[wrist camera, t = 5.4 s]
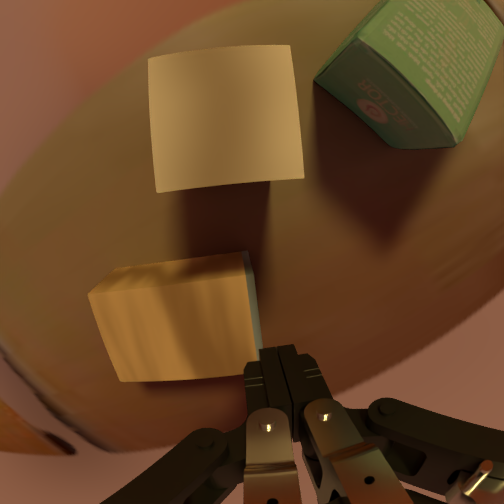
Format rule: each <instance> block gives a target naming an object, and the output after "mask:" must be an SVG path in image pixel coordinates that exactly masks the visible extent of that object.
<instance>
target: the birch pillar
mask: <svg viewBox="0 0 504 504" xmlns="http://www.w3.org/2000/svg"><path fill="white" fill-rule="evenodd" d="M148 80H149V108H150V126H151V140H152V152H153V163H154V173H155V183H156V191H157V193H162V192H169V191H176V190H184V189H192V188H200V187H208V186H217V185H226V184H236V183H247V182H258V181H270V180H284V179H300V178H304V167H303V155H302V143H301V133H300V123H299V113H298V104H297V95H296V87H295V79H294V71H293V64H292V57H291V50H290V45H251V46H233V47H220V48H210V49H201V50H194V51H187V52H180V53H174V54H168V55H163V56H158V57H153V58H148Z"/></svg>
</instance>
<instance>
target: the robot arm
mask: <svg viewBox="0 0 504 504" xmlns="http://www.w3.org/2000/svg"><path fill="white" fill-rule="evenodd" d="M258 351H259V361H251V362H247V364H246V366H245V368H244V370H243V371H244V381H245V391H246V401H247V410H248V416H247V419H246V421H245V422H244V423H243V424H242V425H241V426H240V427H238V428H236V429H234V430H232V431H229V432H226V433H222V432H221V431H219V430H216V429H213V428H201V429H198V430H195V431H193V432H192V433H190V434H189V435H188V436H187V437H186V438H184V439H183V440H182V441H181V442H180V443H178V444H177V445H176V446H175V447H174V448H173V449H171V450H170V451H169V452H168V453H167V454H165V455H164V456H163V457H162V458H160V459H159V460H158V461H157V462H155V463H154V464H153V465H152V466H150V467H149V468H148V469H147V470H145V471H144V472H143V473H141V474H140V475H139V476H137V477H136V478H135V479H134V480H132V481H131V482H129V483H128V484H127V485H125V486H124V487H123V488H121V489H120V490H119V491H117V492H116V493H114V494H113V495H111V496H110V497H109V498H107V499H106V500H104V501H103V502H101V503H100V504H220V503H221V502H222V501H223V500H224V499H225V498H226V497H227V496H228V495H229V494H230V493H231V492H232V491H233V490H234V489H235V487H236V486H237V484H239V483H242V482H244V504H302V500H301V493H300V486H299V479H298V472H297V467H296V464H295V462H294V456H293V449H292V438H293V442H299V441H300V442H301V445H302V457H303V460H304V463H305V466H306V468H307V471H308V473H309V476H310V479H311V481H312V484H313V486H314V489H315V491H316V495H317V501H318V504H504V431H501V430H497V429H492V428H488V427H484V426H481V425H477V424H473V423H469V422H466V421H462V420H459V419H455V418H452V417H448V416H445V415H441V414H438V413H435V412H432V411H429V410H426V409H423V408H420V407H417V406H414V405H411V404H408V403H405V402H402V401H399V400H397V399H393V398H380V399H378V400H376V401H374V402H372V403H371V405H370V406H369V408H368V409H349V408H345V407H343V406H342V405H341V404H340V403H339V402H338V401H336V400H334V399H333V397H332V395H331V393H330V391H329V389H328V387H327V384H326V382H325V380H324V378H323V376H322V373H321V371H320V369H319V367H318V365H317V363H316V361H315V359H314V358H312V357H311V356H310V355H308V354H301V355H298V354H297V351H296V349H295V346H294V344H291V345H284V346H277V347H270V348H263V349H258ZM399 480H400V481H403V482H406V483H408V484H411V485H413V486H416V487H419V488H422V489H425V490H428V491H431V492H434V493H437V494H440V495H444V496H445V497H446V501H447V503H445V502H442V501H439V500H437V499H434V498H431V497H428V496H426V495H423V494H420V493H418V492H415V491H412V490H408V489H404V487H403V486H402V484H401V483H400V481H399Z"/></svg>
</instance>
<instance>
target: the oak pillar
mask: <svg viewBox="0 0 504 504" xmlns="http://www.w3.org/2000/svg"><path fill="white" fill-rule="evenodd" d="M88 298H89V301H90V304H91V307H92V310H93V313H94V316H95V319H96V322H97V325H98V328H99V330H100V333H101V336H102V339H103V341H104V344H105V346H106V349H107V351H108V354H109V356H110V359H111V361H112V364H113V366H114V368H115V371H116V373H117V375H118V377H119V380H120V382H141V381H171V380H188V379H201V378H212V377H222V376H232V375H240V374H244V371H243V370H244V368H245V366H246V364H247V362H251V361H259V351H258V349H263V345H262V337H261V329H260V321H259V312H258V304H257V296H256V288H255V280H254V273H253V269H252V265H251V261H250V257H249V254H248V251H240V252H233V253H225V254H218V255H211V256H203V257H196V258H189V259H181V260H174V261H167V262H159V263H152V264H145V265H137V266H130V267H123V268H116V269H114V270H113V271H112V272H111V273H110V274H108V275H107V276H106V277H105V278H104V279H103V280H102V281H101V282H100V283H99V284H98V285H97V286H96V287H94V288H93V289H92V290H91V291H90V292H89V293H88Z"/></svg>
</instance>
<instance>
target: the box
mask: <svg viewBox="0 0 504 504" xmlns="http://www.w3.org/2000/svg"><path fill="white" fill-rule="evenodd" d="M503 39H504V26H503V25H502V23H501V22H500V21H499V19H498V18H497V17H496V15H495V14H494V13H493V12H492V10H491V9H490V8H489V7H488V5H487V4H486V3H485V2H484V1H483V0H381V1H380V2H379V3H378V4H377V5H376V6H375V7H374V8H373V9H372V10H371V11H370V12H369V13H368V15H367V16H366V17H365V18H364V19H363V20H362V21H361V22H360V23H359V24H358V25H357V27H356V28H355V29H354V30H353V31H352V32H351V33H350V34H349V36H348V37H347V38H346V39H345V40H344V41H343V43H342V44H341V45H340V46H339V47H338V48H337V50H336V51H335V52H334V53H333V54H332V56H331V57H330V58H329V59H328V60H327V62H326V63H325V64H324V65H323V66H322V68H321V69H320V70H319V71H318V73H317V74H316V76H315V78H314V81H315V82H316V83H318V84H319V85H320V86H322V87H323V88H324V89H326V90H327V91H328V92H329V93H331V94H332V95H333V96H334V97H336V98H337V99H338V100H339V101H341V102H342V103H343V104H344V105H345V106H347V107H348V108H349V109H350V110H351V111H353V112H354V113H355V114H356V115H357V116H358V117H360V118H361V119H362V120H363V121H364V122H365V123H366V124H367V125H368V126H369V127H371V128H372V129H373V130H374V131H375V132H376V133H377V134H378V135H379V136H380V137H381V138H382V139H383V140H384V141H385V142H386V143H387V144H388V145H389V146H391V147H394V148H398V149H411V150H419V149H436V148H450V147H455V146H456V145H457V144H458V143H459V142H461V141H462V140H463V138H464V136H465V134H466V131H467V129H468V127H469V125H470V123H471V120H472V118H473V116H474V114H475V111H476V109H477V107H478V104H479V102H480V100H481V97H482V95H483V92H484V90H485V88H486V85H487V83H488V80H489V78H490V75H491V73H492V70H493V67H494V65H495V62H496V59H497V56H498V54H499V51H500V48H501V45H502V42H503Z"/></svg>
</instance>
